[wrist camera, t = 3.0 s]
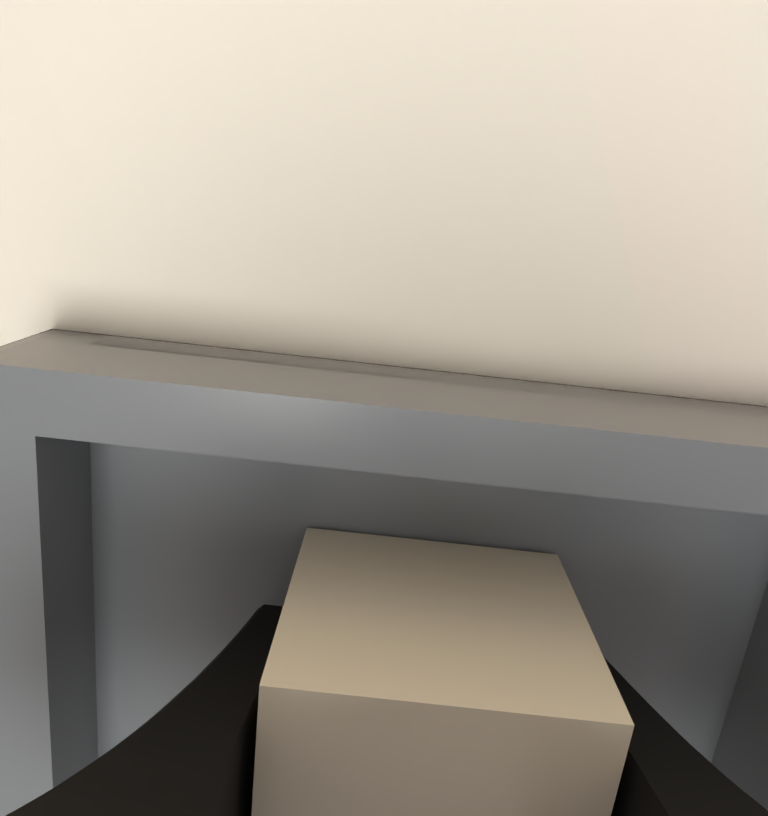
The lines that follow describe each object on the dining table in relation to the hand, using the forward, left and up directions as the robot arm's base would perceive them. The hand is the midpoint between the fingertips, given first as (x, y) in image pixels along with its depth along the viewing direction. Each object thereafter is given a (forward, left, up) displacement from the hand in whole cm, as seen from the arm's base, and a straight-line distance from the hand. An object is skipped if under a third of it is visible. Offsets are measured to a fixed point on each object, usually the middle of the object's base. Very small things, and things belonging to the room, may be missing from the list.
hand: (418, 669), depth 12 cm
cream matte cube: (0, 0, -1) cm, 1 cm away
